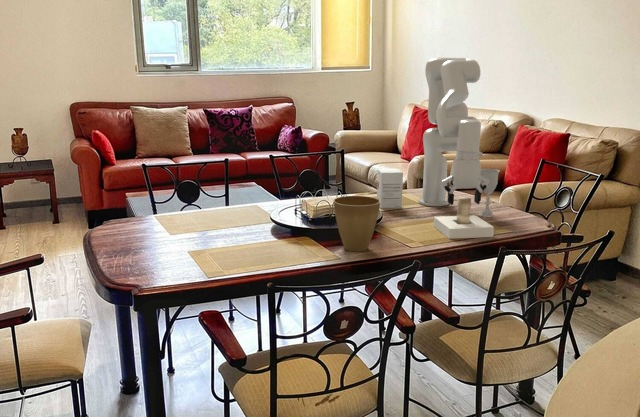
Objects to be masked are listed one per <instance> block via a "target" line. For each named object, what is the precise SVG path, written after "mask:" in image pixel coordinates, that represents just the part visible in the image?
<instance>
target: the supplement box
mask: <svg viewBox="0 0 640 417" xmlns="http://www.w3.org/2000/svg"><path fill="white" fill-rule="evenodd" d="M376 180H377V181H376V198H377V199H379V200H380V207H379V209H402V207H403V206H402V205H403V202H402V201H403V186H404V184H403V182H404V172H402V170H400V169H399V168H377V179H376Z"/></svg>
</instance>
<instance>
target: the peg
mask: <svg viewBox="0 0 640 417" xmlns="http://www.w3.org/2000/svg"><path fill="white" fill-rule="evenodd" d="M471 203H472V198H471V197H467V196H460V197H458V198H457V213H456V216H457V224H469V221H470V216H471V208H472V207H471Z"/></svg>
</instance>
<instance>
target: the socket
mask: <svg viewBox="0 0 640 417" xmlns="http://www.w3.org/2000/svg"><path fill="white" fill-rule="evenodd" d="M433 227H434V229H435V228H436V230H437V231H439V232H440V233H441V234H443V235H444V236H445V237H446V238H448V239H449V240H453V239H470V238H471V239H472V238H473V239H475V238H477V239H478V238H494V231H495V227H494V226H493V225H491V224H490V223H489V222H486V221H485V220H483V219H482V218H480V217H478V216H477V215H474V214H473V215H470V221H469V224H457V215H450V216H448V215H447V216H444V215H443V216H433Z"/></svg>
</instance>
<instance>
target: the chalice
mask: <svg viewBox="0 0 640 417" xmlns="http://www.w3.org/2000/svg"><path fill="white" fill-rule="evenodd" d="M500 171H501V170H500V169H498V168H486V167H485V168H481V176H482V177H484V178H486V179H488V180H489V183H488V185H487V187H486V188H485V189H484V190H483V193H484V194H486V197H485V200H486V202H485V208H484V209H482V211H481V212H480V213H479V216H480V217H484V218H492V217H494V214H493V210H491V209H490V208H489V205H491V203H490V200H491V198H490V195H492V194H493V193H494V191H495V190H496V188H497V185H498V182H499V181H498V180H499V173H500ZM483 183H484V181H483V180H481V184H480V185H482V184H483Z"/></svg>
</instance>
